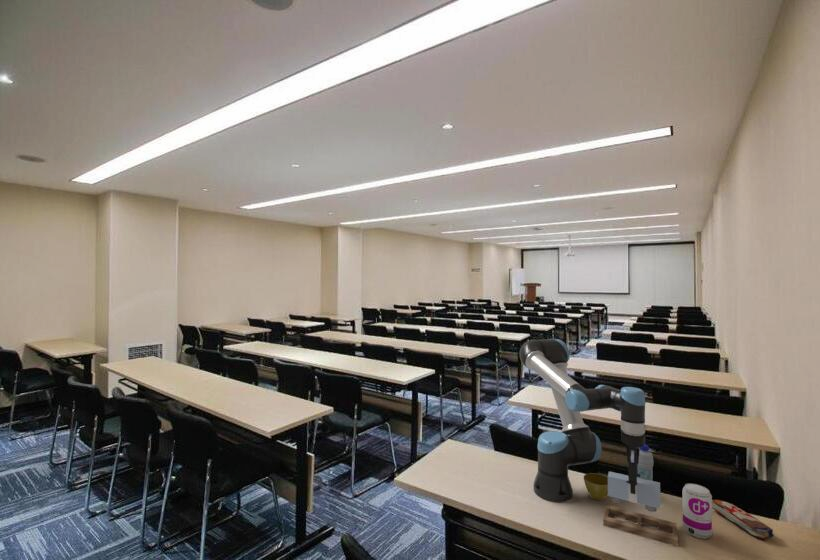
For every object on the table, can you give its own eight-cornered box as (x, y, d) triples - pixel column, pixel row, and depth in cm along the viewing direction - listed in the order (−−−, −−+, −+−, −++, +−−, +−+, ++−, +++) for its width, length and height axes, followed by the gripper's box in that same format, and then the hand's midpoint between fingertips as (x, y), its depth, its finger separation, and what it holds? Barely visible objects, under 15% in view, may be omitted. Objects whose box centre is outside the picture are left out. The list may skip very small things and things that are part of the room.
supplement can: (713, 542, 131) (713, 497, 132) (683, 534, 136) (683, 490, 136) (710, 530, 138) (710, 486, 138) (681, 522, 143) (681, 480, 143)
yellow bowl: (578, 493, 162) (578, 475, 163) (596, 488, 166) (596, 471, 166) (598, 505, 153) (598, 487, 153) (617, 500, 157) (617, 482, 157)
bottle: (656, 498, 159) (656, 448, 159) (638, 496, 160) (638, 446, 160) (649, 489, 165) (649, 441, 165) (632, 488, 166) (632, 440, 167)
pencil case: (738, 510, 151) (738, 497, 151) (780, 544, 131) (780, 528, 131) (706, 508, 152) (706, 495, 152) (743, 541, 133) (743, 526, 133)
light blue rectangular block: (607, 501, 143) (607, 476, 143) (609, 495, 147) (608, 471, 147) (660, 514, 135) (660, 488, 135) (660, 508, 139) (659, 482, 139)
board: (603, 524, 141) (603, 519, 141) (606, 509, 150) (606, 504, 150) (678, 546, 130) (677, 540, 130) (676, 528, 139) (676, 523, 139)
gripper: (644, 442, 132) (645, 513, 131) (645, 426, 147) (646, 490, 146) (619, 438, 136) (619, 507, 135) (622, 423, 151) (622, 485, 150)
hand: (633, 498), depth 141 cm, fingers closed on light blue rectangular block, 4 cm apart
